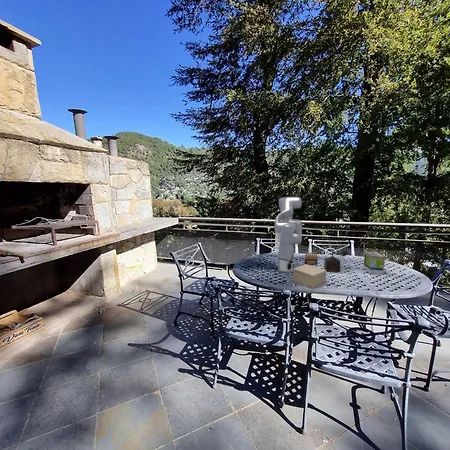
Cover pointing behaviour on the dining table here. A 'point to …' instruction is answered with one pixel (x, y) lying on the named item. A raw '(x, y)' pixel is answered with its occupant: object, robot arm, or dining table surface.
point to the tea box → (374, 262)
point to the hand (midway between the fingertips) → (285, 267)
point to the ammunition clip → (311, 259)
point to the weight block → (284, 265)
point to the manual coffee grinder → (333, 263)
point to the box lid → (309, 270)
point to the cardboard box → (309, 279)
